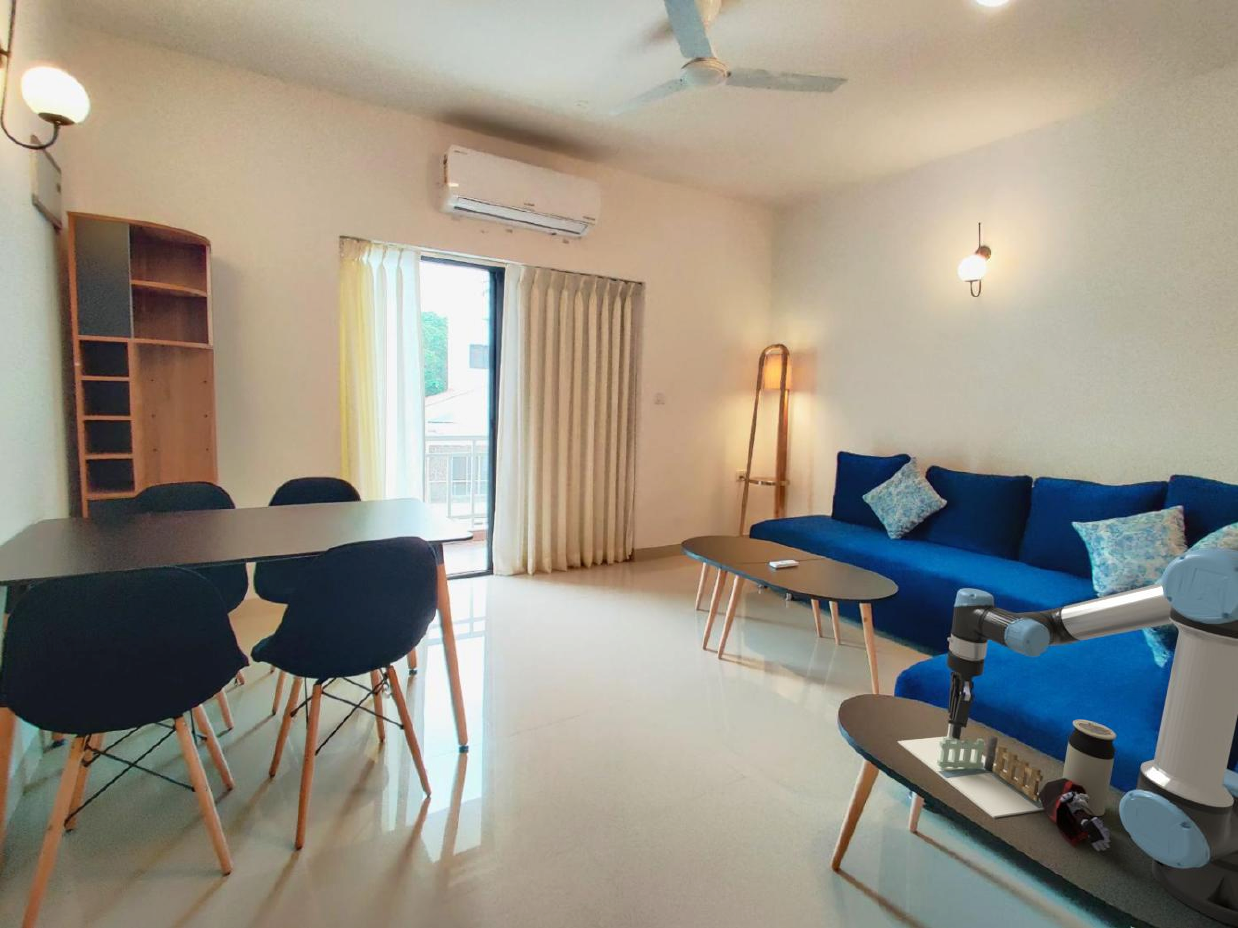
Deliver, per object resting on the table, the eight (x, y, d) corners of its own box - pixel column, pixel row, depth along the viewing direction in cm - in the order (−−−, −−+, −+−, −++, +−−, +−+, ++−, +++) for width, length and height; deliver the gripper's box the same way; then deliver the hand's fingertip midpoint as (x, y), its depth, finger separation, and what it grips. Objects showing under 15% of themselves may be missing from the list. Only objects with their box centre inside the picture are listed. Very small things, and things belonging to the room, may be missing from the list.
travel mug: (1109, 821, 127) (1123, 742, 125) (1064, 808, 130) (1077, 731, 129) (1097, 800, 134) (1110, 725, 133) (1055, 788, 138) (1067, 714, 136)
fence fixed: (1039, 804, 131) (1045, 768, 130) (1033, 805, 131) (1039, 769, 130) (987, 768, 144) (992, 734, 143) (982, 768, 143) (987, 735, 143)
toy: (1095, 793, 115) (1059, 756, 130) (1048, 814, 117) (1018, 776, 132) (1136, 850, 114) (1095, 806, 128) (1088, 871, 116) (1053, 825, 130)
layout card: (1057, 808, 130) (1058, 805, 130) (993, 817, 125) (993, 815, 125) (954, 736, 157) (954, 735, 157) (897, 742, 152) (898, 740, 152)
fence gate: (980, 766, 143) (984, 738, 142) (982, 768, 142) (987, 740, 141) (936, 764, 142) (940, 737, 141) (939, 767, 141) (943, 739, 140)
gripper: (943, 641, 148) (930, 730, 151) (954, 661, 136) (940, 758, 138) (977, 647, 146) (964, 738, 148) (991, 668, 133) (976, 767, 136)
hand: (952, 748), depth 143 cm, fingers closed
